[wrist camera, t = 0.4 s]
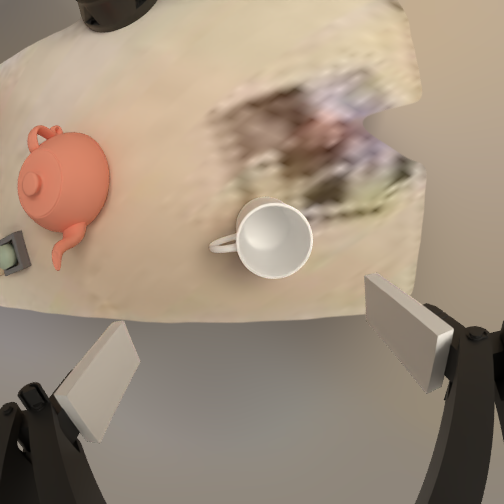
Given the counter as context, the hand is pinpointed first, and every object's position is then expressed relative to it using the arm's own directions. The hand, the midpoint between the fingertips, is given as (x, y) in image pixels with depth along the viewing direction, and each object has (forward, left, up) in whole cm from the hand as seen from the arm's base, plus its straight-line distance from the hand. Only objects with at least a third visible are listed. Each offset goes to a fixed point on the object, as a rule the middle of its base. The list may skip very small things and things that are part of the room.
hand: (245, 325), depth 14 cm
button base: (-9, -44, -28) cm, 53 cm away
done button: (-9, -44, -26) cm, 52 cm away
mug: (-1, +2, -28) cm, 28 cm away
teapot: (-15, -24, -28) cm, 40 cm away
